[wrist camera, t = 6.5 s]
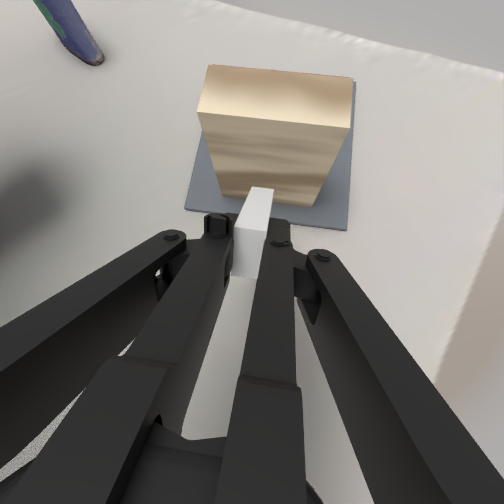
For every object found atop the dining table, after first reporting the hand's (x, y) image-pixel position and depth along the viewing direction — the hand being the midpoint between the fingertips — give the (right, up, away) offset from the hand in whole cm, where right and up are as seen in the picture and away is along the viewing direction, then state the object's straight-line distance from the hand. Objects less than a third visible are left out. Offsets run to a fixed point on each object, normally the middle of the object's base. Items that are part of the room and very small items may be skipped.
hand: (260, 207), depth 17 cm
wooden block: (+1, +4, +11) cm, 12 cm away
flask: (-25, +25, +18) cm, 40 cm away
